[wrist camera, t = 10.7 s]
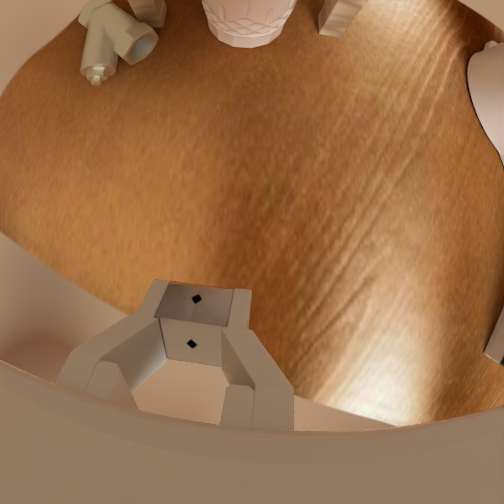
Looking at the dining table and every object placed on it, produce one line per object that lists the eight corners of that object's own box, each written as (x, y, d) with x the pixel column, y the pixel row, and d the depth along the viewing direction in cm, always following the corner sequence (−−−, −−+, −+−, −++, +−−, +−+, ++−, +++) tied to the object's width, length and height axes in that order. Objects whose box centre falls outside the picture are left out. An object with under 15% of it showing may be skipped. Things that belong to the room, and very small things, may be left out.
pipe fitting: (108, 97, 22) (163, 43, 21) (88, 85, 18) (150, 24, 17) (66, 56, 21) (115, 8, 20) (46, 44, 17) (100, -10, 16)
